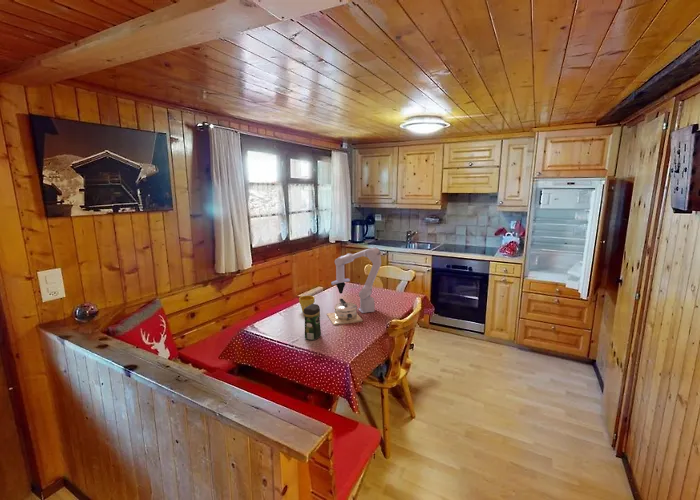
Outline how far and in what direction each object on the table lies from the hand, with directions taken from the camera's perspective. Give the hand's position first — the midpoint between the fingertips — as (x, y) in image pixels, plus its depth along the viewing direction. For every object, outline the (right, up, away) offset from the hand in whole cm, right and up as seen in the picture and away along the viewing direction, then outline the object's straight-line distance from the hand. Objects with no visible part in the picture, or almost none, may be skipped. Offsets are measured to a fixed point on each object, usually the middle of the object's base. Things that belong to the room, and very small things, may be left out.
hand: (340, 293), depth 230 cm
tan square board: (+2, -13, -16) cm, 21 cm away
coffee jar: (-15, -19, -45) cm, 51 cm away
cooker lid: (+3, -7, -16) cm, 18 cm away
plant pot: (-23, -12, -5) cm, 26 cm away
